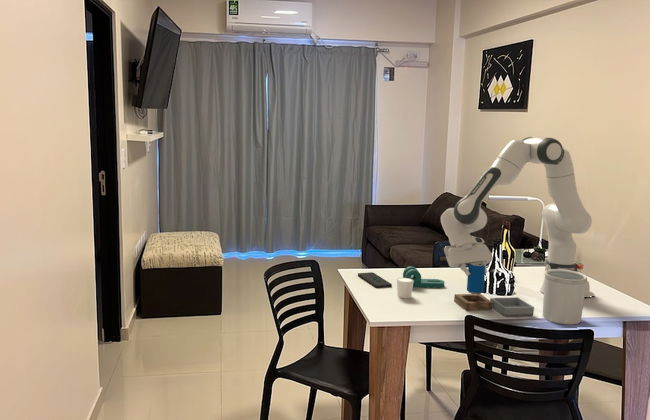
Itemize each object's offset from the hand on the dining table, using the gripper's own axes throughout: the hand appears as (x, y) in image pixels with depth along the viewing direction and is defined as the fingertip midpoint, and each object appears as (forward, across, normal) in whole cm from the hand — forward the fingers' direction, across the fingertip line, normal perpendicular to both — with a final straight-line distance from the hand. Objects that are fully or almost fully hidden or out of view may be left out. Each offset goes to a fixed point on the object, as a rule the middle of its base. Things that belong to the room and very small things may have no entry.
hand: (477, 274), depth 227 cm
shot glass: (-5, -20, +24) cm, 32 cm away
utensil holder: (+26, +22, -6) cm, 35 cm away
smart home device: (-21, -21, +40) cm, 50 cm away
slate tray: (+16, +10, +3) cm, 19 cm away
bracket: (-12, -3, +31) cm, 34 cm away
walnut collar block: (+9, 0, +10) cm, 13 cm away
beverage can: (+5, 0, +6) cm, 8 cm away
